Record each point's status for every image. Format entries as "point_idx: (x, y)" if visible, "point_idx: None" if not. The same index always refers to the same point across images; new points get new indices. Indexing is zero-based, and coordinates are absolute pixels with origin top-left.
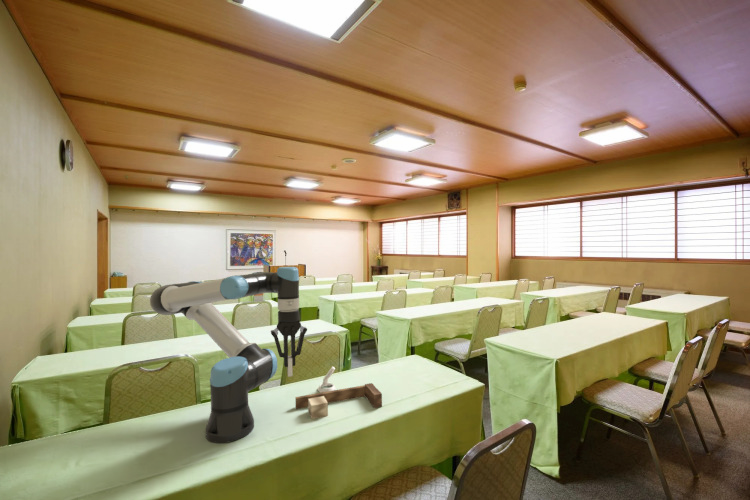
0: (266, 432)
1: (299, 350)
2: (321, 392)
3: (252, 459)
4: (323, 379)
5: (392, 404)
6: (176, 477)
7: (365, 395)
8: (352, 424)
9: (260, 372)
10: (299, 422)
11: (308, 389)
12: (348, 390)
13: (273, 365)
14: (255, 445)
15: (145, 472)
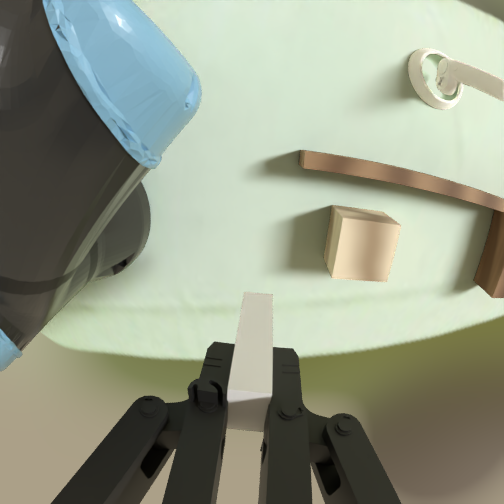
0: (183, 267)
1: (333, 478)
2: (415, 90)
3: (156, 347)
4: (447, 65)
5: None
6: (57, 323)
7: (496, 211)
8: (395, 327)
9: (73, 260)
10: (283, 259)
11: (379, 36)
12: (478, 203)
13: (148, 157)
14: (158, 309)
15: None
